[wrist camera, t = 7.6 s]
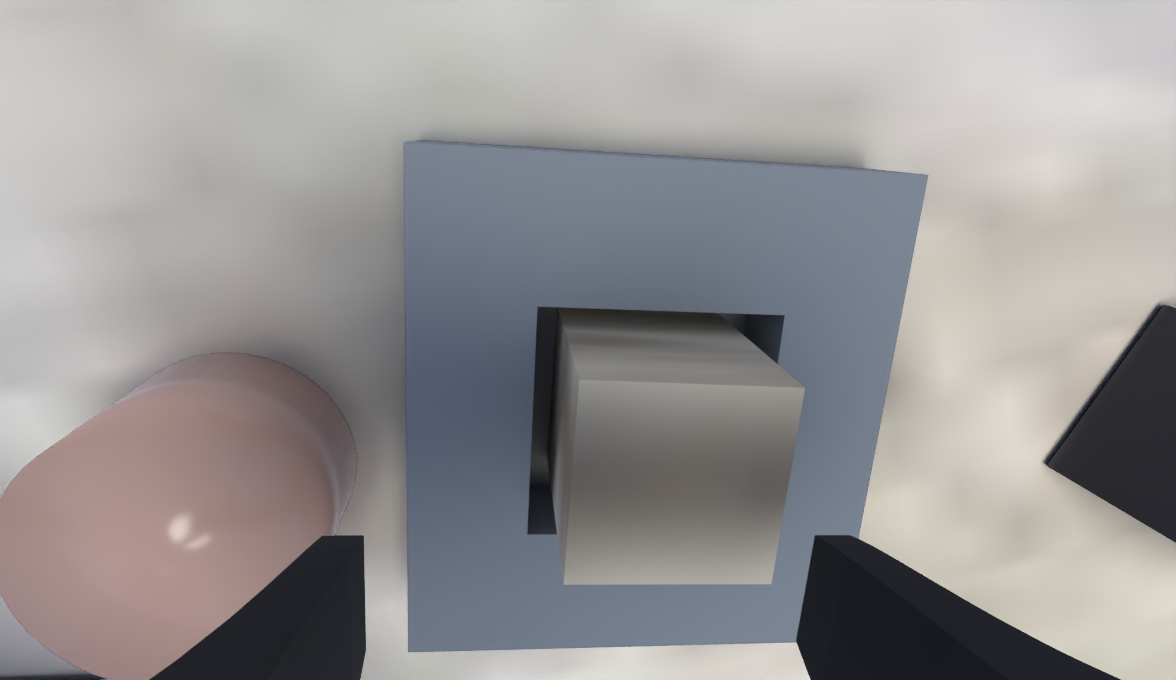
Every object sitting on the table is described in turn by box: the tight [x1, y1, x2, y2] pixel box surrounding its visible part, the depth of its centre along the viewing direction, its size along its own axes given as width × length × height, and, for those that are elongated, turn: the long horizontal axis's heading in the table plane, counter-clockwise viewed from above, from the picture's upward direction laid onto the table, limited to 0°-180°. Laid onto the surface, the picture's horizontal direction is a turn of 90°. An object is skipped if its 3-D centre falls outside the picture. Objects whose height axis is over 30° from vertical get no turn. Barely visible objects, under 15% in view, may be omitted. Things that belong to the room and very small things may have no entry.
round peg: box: [0, 352, 357, 680], centre depth 17 cm, size 6×6×5 cm
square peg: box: [547, 307, 805, 585], centre depth 17 cm, size 4×4×6 cm
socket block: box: [404, 140, 928, 652], centre depth 19 cm, size 13×12×3 cm
